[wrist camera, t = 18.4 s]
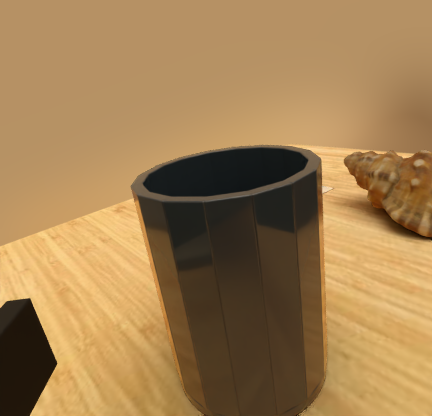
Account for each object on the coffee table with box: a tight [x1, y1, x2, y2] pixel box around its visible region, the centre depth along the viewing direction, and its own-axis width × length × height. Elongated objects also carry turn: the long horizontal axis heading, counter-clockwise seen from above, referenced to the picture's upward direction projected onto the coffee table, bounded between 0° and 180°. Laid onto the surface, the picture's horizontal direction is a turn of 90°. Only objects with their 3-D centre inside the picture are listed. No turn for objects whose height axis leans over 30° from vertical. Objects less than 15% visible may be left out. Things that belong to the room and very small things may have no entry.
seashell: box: [344, 151, 432, 237], centre depth 31 cm, size 9×8×10 cm
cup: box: [131, 145, 327, 416], centre depth 17 cm, size 8×8×11 cm
